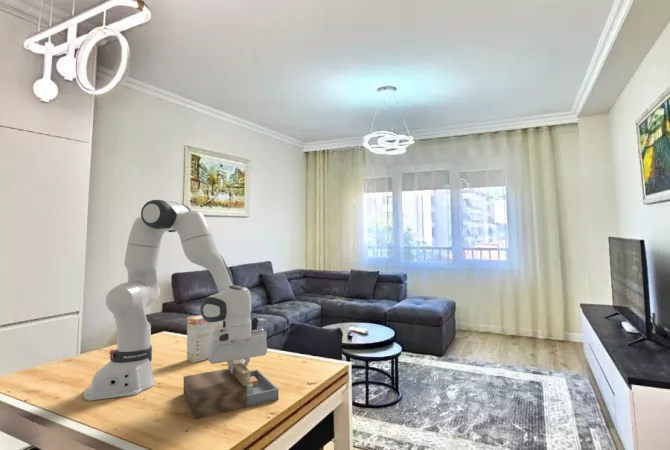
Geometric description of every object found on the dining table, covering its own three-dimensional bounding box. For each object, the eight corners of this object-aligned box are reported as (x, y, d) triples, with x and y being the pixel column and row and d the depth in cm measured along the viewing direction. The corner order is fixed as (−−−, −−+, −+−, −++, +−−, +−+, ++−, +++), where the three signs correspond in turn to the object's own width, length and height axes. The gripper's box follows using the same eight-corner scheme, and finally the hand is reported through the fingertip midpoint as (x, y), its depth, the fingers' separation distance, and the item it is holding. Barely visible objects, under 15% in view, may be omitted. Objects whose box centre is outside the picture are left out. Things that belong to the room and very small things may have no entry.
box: (246, 407, 119) (246, 395, 119) (229, 384, 138) (229, 375, 138) (278, 399, 125) (278, 388, 125) (257, 378, 144) (257, 369, 144)
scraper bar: (243, 385, 120) (243, 373, 120) (228, 367, 137) (228, 357, 137) (250, 384, 121) (250, 371, 121) (234, 366, 138) (234, 355, 139)
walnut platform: (194, 419, 111) (194, 399, 111) (183, 393, 130) (183, 376, 130) (246, 407, 119) (246, 388, 120) (229, 384, 138) (229, 368, 139)
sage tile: (246, 386, 122) (252, 384, 123) (242, 381, 127) (248, 380, 128) (247, 401, 122) (253, 399, 123) (243, 396, 127) (249, 394, 128)
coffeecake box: (215, 352, 179) (215, 311, 180) (223, 355, 175) (223, 313, 176) (186, 360, 168) (186, 316, 169) (194, 363, 163) (194, 318, 164)
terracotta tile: (258, 380, 136) (258, 385, 135) (254, 376, 140) (254, 381, 140) (244, 382, 133) (244, 388, 133) (240, 378, 138) (240, 384, 137)
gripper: (263, 326, 138) (263, 364, 137) (207, 333, 128) (206, 374, 127) (269, 329, 132) (269, 369, 132) (211, 337, 122) (210, 380, 121)
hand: (238, 371), depth 129 cm, fingers closed on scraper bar, 2 cm apart
